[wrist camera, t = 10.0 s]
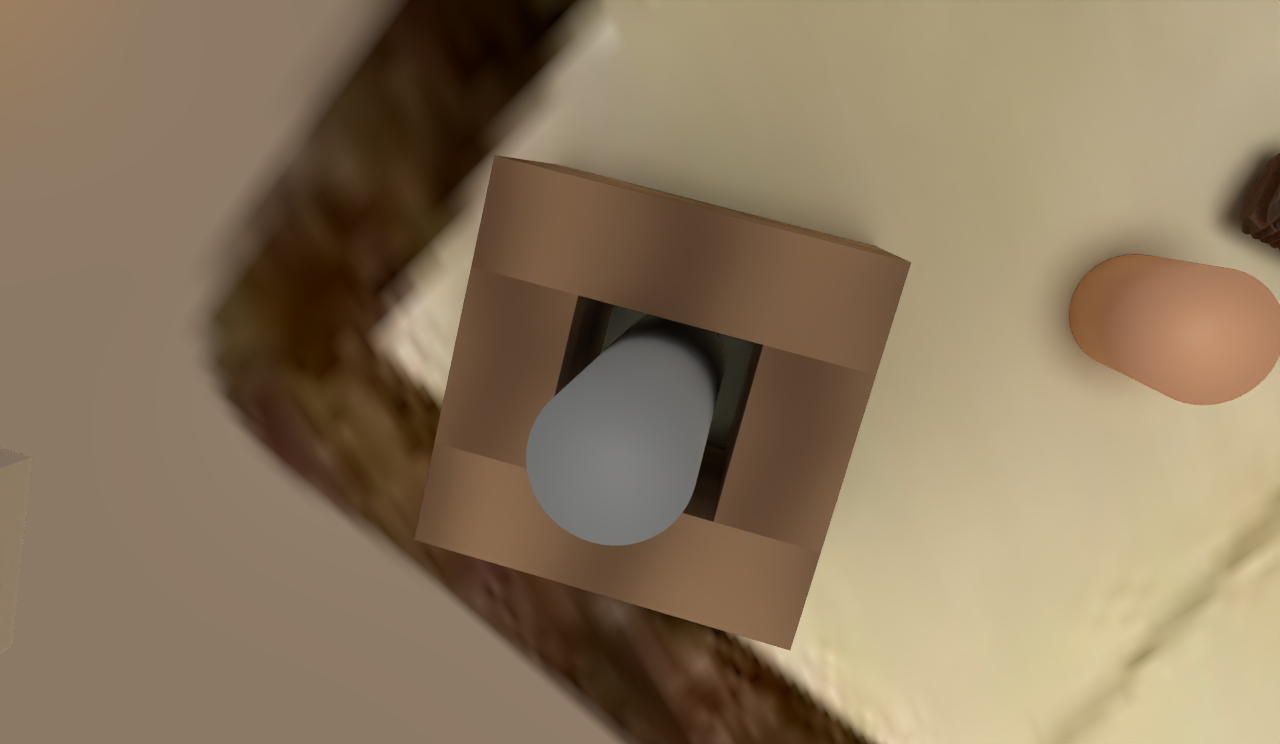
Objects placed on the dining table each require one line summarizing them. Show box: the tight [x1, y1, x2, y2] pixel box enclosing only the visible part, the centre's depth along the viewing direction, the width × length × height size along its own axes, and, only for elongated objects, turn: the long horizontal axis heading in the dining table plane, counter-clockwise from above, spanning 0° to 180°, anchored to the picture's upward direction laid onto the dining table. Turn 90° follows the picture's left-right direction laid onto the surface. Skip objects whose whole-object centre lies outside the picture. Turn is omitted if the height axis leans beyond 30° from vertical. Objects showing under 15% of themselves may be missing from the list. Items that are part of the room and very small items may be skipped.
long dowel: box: [526, 314, 725, 546], centre depth 28 cm, size 4×4×14 cm
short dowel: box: [1069, 254, 1280, 405], centre depth 30 cm, size 4×4×6 cm
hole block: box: [414, 156, 911, 650], centre depth 31 cm, size 12×12×8 cm
